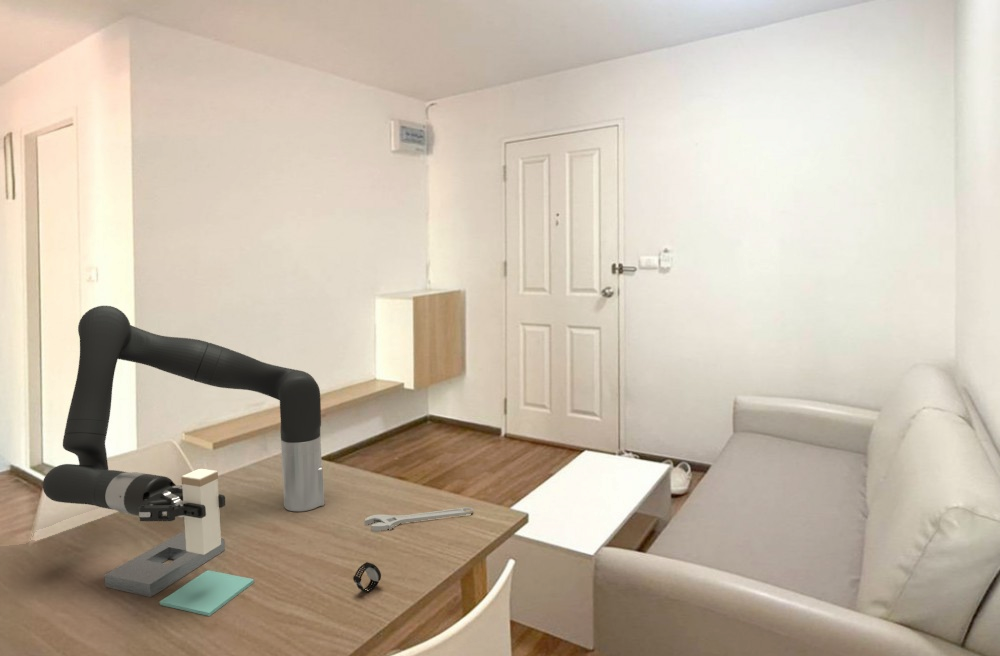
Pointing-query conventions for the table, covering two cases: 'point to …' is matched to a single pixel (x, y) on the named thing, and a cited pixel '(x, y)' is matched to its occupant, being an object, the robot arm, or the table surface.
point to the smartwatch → (372, 574)
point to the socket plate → (158, 567)
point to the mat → (207, 592)
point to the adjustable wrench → (410, 518)
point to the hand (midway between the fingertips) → (213, 506)
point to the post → (207, 529)
